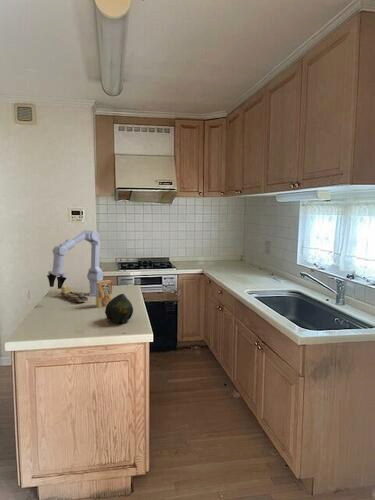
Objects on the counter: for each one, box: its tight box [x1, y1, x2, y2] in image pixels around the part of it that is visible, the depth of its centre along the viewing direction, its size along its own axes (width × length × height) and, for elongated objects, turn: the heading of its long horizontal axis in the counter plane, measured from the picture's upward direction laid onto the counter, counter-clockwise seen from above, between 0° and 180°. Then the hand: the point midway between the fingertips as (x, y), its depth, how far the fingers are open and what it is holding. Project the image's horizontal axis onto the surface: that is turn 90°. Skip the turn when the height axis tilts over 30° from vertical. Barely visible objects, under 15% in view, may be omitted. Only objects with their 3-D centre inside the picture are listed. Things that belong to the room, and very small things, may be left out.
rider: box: [61, 285, 71, 294], centre depth 244 cm, size 4×4×4 cm
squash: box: [104, 293, 134, 324], centre depth 197 cm, size 14×15×15 cm
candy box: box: [95, 279, 113, 309], centre depth 223 cm, size 9×4×15 cm, turn 129°
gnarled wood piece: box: [59, 290, 89, 303], centre depth 237 cm, size 24×7×6 cm, turn 46°
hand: (55, 287), depth 224 cm, fingers open, 7 cm apart
